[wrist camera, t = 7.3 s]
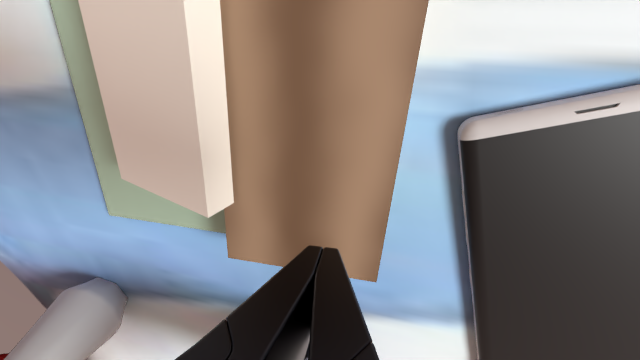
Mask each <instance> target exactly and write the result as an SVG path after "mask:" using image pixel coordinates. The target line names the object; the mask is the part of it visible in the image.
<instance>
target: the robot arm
mask: <svg viewBox="0 0 640 360" xmlns="http://www.w3.org/2000/svg"><path fill="white" fill-rule="evenodd" d="M175 360H379V358H378V355H377V352H376V349H375V347H374V344H373V343H372V339H371V336H370V334H369V331H368V328H367V325H366V323H365V320H364V317H363V315H362V312H361V309H360V306H359V304H358V301H357V298H356V296H355V293H354V290H353V287H352V285H351V282H350V279H349V276H348V274H347V271H346V268H345V266H344V263H343V260H342V257H341V255H340V252H339V250H338V249H337V248H330V247H325V248H324V249H323V247H321V246H313V245H309V246H307V247H306V248H305V249H304V250H303V251H301V252H300V253H299V254H298V255H297V256H296V257H295V258H294V259H292V260H291V261H290V262H289V263H288V264H287V265H286V266H284V267H283V268H282V269H281V270H280V271H279V272H278V273H277V274H275V275H274V276H273V277H272V278H271V279H270V280H269V281H267V282H266V283H265V284H264V285H263V286H262V287H261V288H259V289H258V290H257V291H256V292H255V293H254V294H253V295H252V296H250V297H249V298H248V299H247V300H246V301H245V302H244V303H242V304H241V305H240V306H239V307H238V308H237V309H236V310H235V311H233V312H232V313H231V314H230V315H229V316H228V317H227V318H226V320H223V321H222V322H221V323H220V324H218V325H217V326H216V327H215V328H214V329H213V330H212V331H210V332H209V333H208V334H207V335H206V336H204V337H203V338H202V339H201V340H200V341H198V342H197V343H196V344H195V345H194V346H192V347H191V348H190V349H188V350H187V351H186V352H184V353H183V354H182V355H180V356H179V357H178V358H176V359H175Z"/></svg>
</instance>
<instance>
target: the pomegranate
mask: <svg viewBox="0 0 640 360" xmlns="http://www.w3.org/2000/svg"><path fill="white" fill-rule="evenodd" d="M8 354H9V353H8ZM8 354H0V360H4V359H5V358H6V356H7V355H8Z"/></svg>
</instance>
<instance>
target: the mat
mask: <svg viewBox="0 0 640 360" xmlns="http://www.w3.org/2000/svg"><path fill="white" fill-rule="evenodd" d="M50 4H51V8H52V11H53V15H54V18H55V22H56V26H57V29H58V33H59V36H60V40H61V44H62V47H63V51H64V54H65V58H66V62H67V65H68V69H69V72H70V76H71V80H72V83H73V87H74V90H75V94H76V98H77V101H78V105H79V108H80V112H81V116H82V119H83V123H84V126H85V130H86V134H87V137H88V141H89V144H90V148H91V152H92V155H93V159H94V162H95V166H96V169H97V173H98V177H99V180H100V184H101V187H102V191H103V195H104V198H105V202H106V205H107V209H108V213H109V215H112V216H118V217H124V218H131V219H137V220H144V221H150V222H156V223H163V224H169V225H176V226H182V227H188V228H195V229H201V230H208V231H214V232H220V233H226V226H225V215H224V209H223V210H221V211H219V212H218V213H216V214H214V215H212V216H211V217H209V218H207V217H205V216H203V215H200V214H198V213H196V212H194V211H192V210H189V209H187V208H185V207H183V206H181V205H178V204H176V203H174V202H172V201H170V200H167V199H165V198H163V197H161V196H158V195H156V194H154V193H152V192H150V191H147V190H145V189H143V188H141V187H139V186H136V185H134V184H132V183H130V182H128V181H125V180H123V179H121V175H120V171H119V167H118V163H117V158H116V154H115V150H114V146H113V142H112V138H111V134H110V130H109V125H108V121H107V117H106V113H105V109H104V105H103V101H102V97H101V93H100V88H99V84H98V80H97V76H96V72H95V68H94V64H93V60H92V55H91V51H90V47H89V43H88V39H87V35H86V31H85V27H84V23H83V18H82V14H81V10H80V6H79V2H78V0H50Z"/></svg>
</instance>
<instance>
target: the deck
mask: <svg viewBox="0 0 640 360" xmlns="http://www.w3.org/2000/svg"><path fill="white" fill-rule="evenodd" d="M428 1H429V0H220V10H221V24H222V38H223V53H224V67H225V81H226V96H227V110H228V125H229V139H230V153H231V168H232V182H233V197H234V203H233V204H231V205H230V206H228V207H226V208H224V215H225V226H226V238H227V249H228V258H234V259H240V260H246V261H252V262H258V263H264V264H270V265H276V266H282V267H284V266H286V265H287V264H288V263H289V262H290V261H291V260H292V259H294V258H295V257H296V256H297V255H298V254H299V253H300V252H301V251H303V250H304V249H305V248H306V247H307V246H309V245H313V246H321V247H323V249H324V248H325V247H330V248H337V249H338V250H339V252H340V255H341V257H342V260H343V263H344V266H345V268H346V271H347V274H348V276H349V278H354V279H360V280H366V281H372V282H376V281H377V276H378V270H379V265H380V260H381V254H382V249H383V243H384V238H385V233H386V227H387V222H388V217H389V211H390V206H391V200H392V195H393V190H394V184H395V179H396V173H397V168H398V163H399V157H400V152H401V147H402V141H403V136H404V130H405V125H406V120H407V114H408V109H409V103H410V98H411V93H412V87H413V82H414V77H415V71H416V66H417V60H418V55H419V50H420V44H421V39H422V33H423V28H424V23H425V17H426V12H427V7H428Z"/></svg>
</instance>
